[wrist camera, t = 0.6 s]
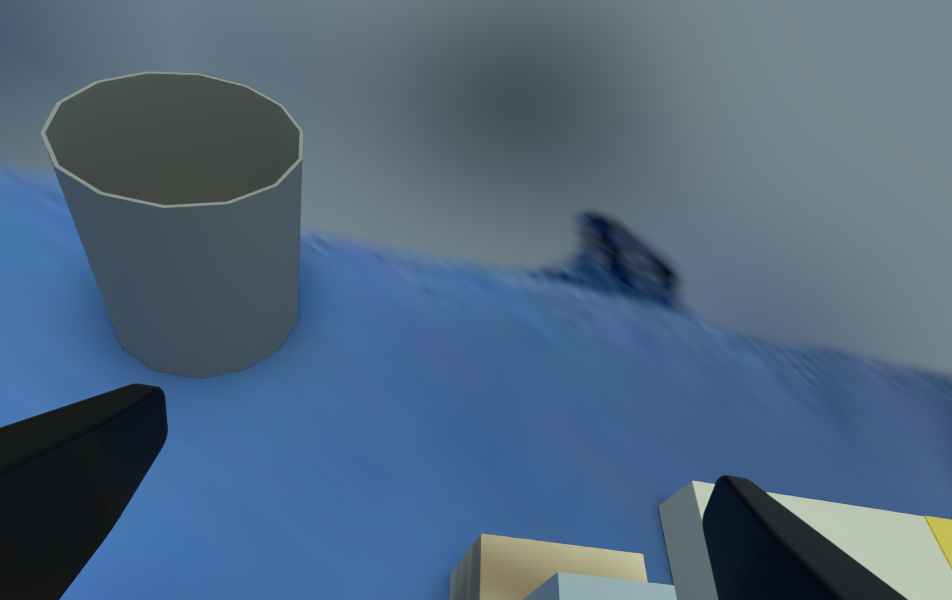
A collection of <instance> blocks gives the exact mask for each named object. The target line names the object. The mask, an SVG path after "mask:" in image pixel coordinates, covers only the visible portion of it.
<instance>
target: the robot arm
mask: <svg viewBox="0 0 952 600" xmlns="http://www.w3.org/2000/svg"><path fill="white" fill-rule="evenodd" d="M167 433H168V425H167V413H166V401H165V394H164V391H163V390H162V389H161V388H160V387H157V386H150V385H144V384H131V385H128V386H125V387H122V388H119V389H116V390H113V391H110V392H107V393H104V394H101V395H98V396H95V397H91V398H88V399H85V400H82V401H79V402H76V403H73V404H70V405H67V406H64V407H61V408H58V409H55V410H52V411H49V412H46V413H43V414H40V415H37V416H34V417H31V418H28V419H25V420H22V421H19V422H16V423H13V424H10V425H7V426H4V427H1V428H0V600H59V599H60V598H61V597H62V595H63V594H64V593H65V591H66V590H67V589H68V587H69V586H70V585H71V583H72V582H73V581H74V579H75V578H76V577H77V575H78V574H79V573H80V571H81V570H82V569H83V568H84V566H85V565H86V564H87V562H88V561H89V560H90V558H91V557H92V556H93V554H94V553H95V552H96V550H97V549H98V548H99V546H100V545H101V544H102V542H103V541H104V540H105V538H106V537H107V535H108V534H109V533H110V531H111V530H112V528H113V527H114V525H115V524H116V522H117V521H118V519H119V518H120V516H121V514H122V513H123V511H124V510H125V508H126V506H127V505H128V503H129V501H130V500H131V498H132V496H133V495H134V493H135V492H136V490H137V488H138V487H139V485H140V483H141V482H142V480H143V478H144V477H145V475H146V474H147V472H148V470H149V469H150V467H151V465H152V464H153V462H154V460H155V459H156V457H157V456H158V454H159V452H160V451H161V449H162V447H163V445H164V443H165V441H166V438H167ZM702 527H703V533H704V538H705V542H706V547H707V551H708V556H709V560H710V565H711V570H712V574H713V579H714V583H715V588H716V592H717V597H718V600H908V599H907V598H905V597H904V596H903V595H901V594H900V593H899V592H897V591H896V590H895V589H893V588H892V587H891V586H889V585H888V584H887V583H885V582H884V581H883V580H881V579H880V578H879V577H877V576H876V575H875V574H873V573H872V572H871V571H869V570H868V569H867V568H865V567H864V566H863V565H861V564H860V563H859V562H857V561H856V560H855V559H854V558H852V557H851V556H850V555H848V554H847V553H846V552H844V551H843V550H842V549H840V548H839V547H838V546H836V545H835V544H834V543H832V542H831V541H830V540H828V539H827V538H826V537H824V536H823V535H822V534H820V533H819V532H818V531H816V530H815V529H814V528H812V527H811V526H810V525H808V524H807V523H806V522H804V521H803V520H802V519H800V518H799V517H798V516H796V515H795V514H794V513H792V512H791V511H790V510H789V509H787V508H786V507H785V506H783V505H782V504H781V503H779V502H778V501H777V500H775V499H774V498H773V497H771V496H770V495H769V494H767V493H766V492H765V491H763V490H762V489H761V488H759V487H758V486H757V485H755V484H754V483H753V482H751V481H750V480H748V479H745V478H740V477H734V476H727V475H724V476H721V477H719V479H718V480H717V481H716V483H715V486H714V488H713V491H712V493H711V496H710V498H709V501H708V503H707V506H706V508H705V511H704V514H703V518H702Z"/></svg>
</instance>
